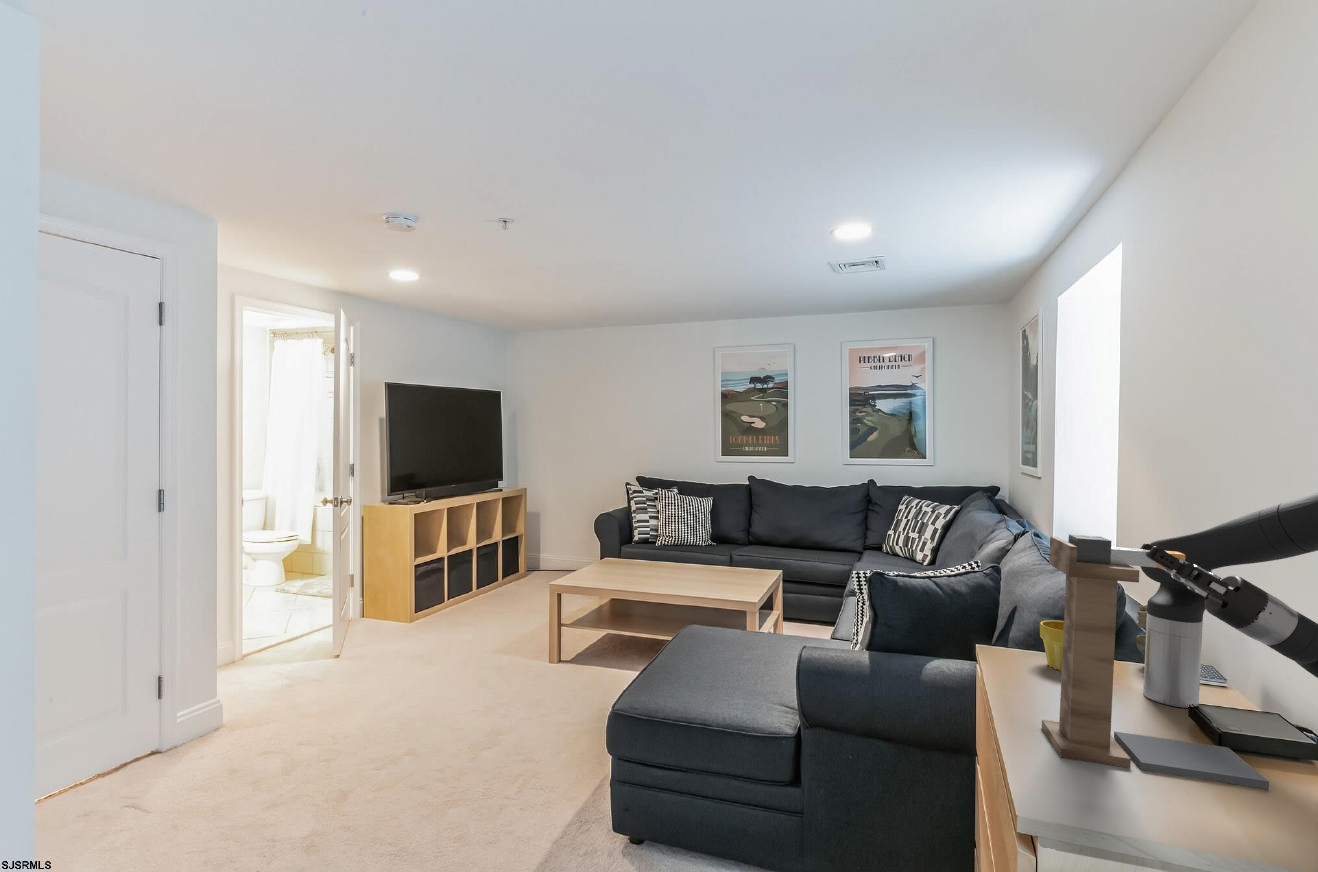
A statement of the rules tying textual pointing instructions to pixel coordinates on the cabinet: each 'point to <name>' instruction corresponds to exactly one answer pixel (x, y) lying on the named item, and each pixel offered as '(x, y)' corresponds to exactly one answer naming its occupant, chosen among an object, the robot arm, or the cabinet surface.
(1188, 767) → the rubber mat
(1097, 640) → the walnut stand
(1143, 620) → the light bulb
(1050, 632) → the plant pot
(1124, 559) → the grey block hammer
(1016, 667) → the cabinet surface
